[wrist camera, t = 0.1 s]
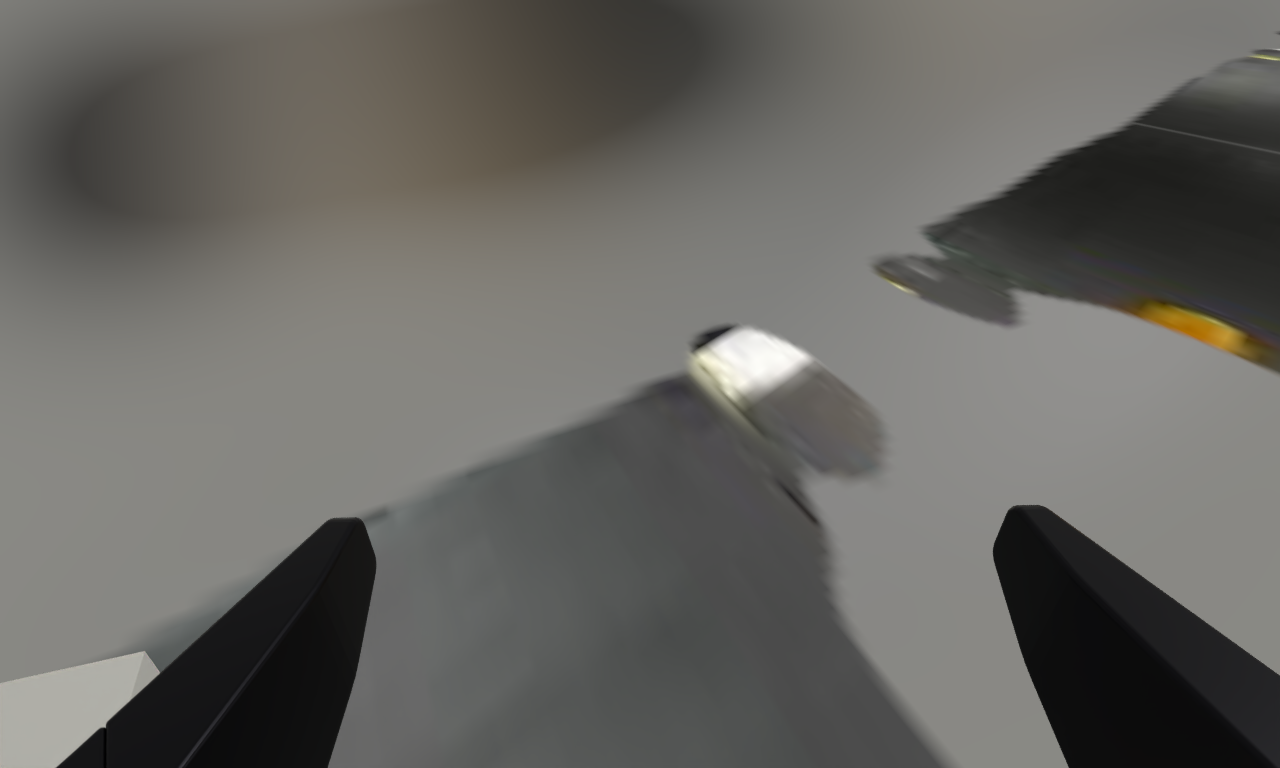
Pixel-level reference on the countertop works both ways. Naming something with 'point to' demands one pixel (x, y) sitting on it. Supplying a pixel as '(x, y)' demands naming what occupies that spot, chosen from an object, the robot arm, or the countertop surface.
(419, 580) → the countertop surface
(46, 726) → the grey cube
